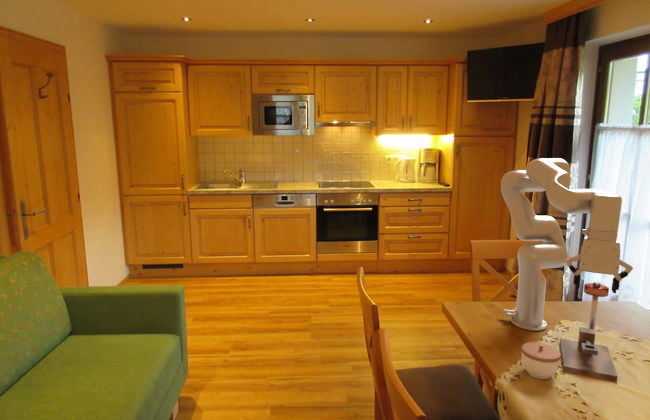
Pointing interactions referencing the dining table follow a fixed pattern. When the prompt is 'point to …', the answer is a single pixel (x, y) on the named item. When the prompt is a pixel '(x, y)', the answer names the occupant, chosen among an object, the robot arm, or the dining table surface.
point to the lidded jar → (540, 359)
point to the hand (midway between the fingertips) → (595, 289)
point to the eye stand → (587, 356)
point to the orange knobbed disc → (595, 298)
